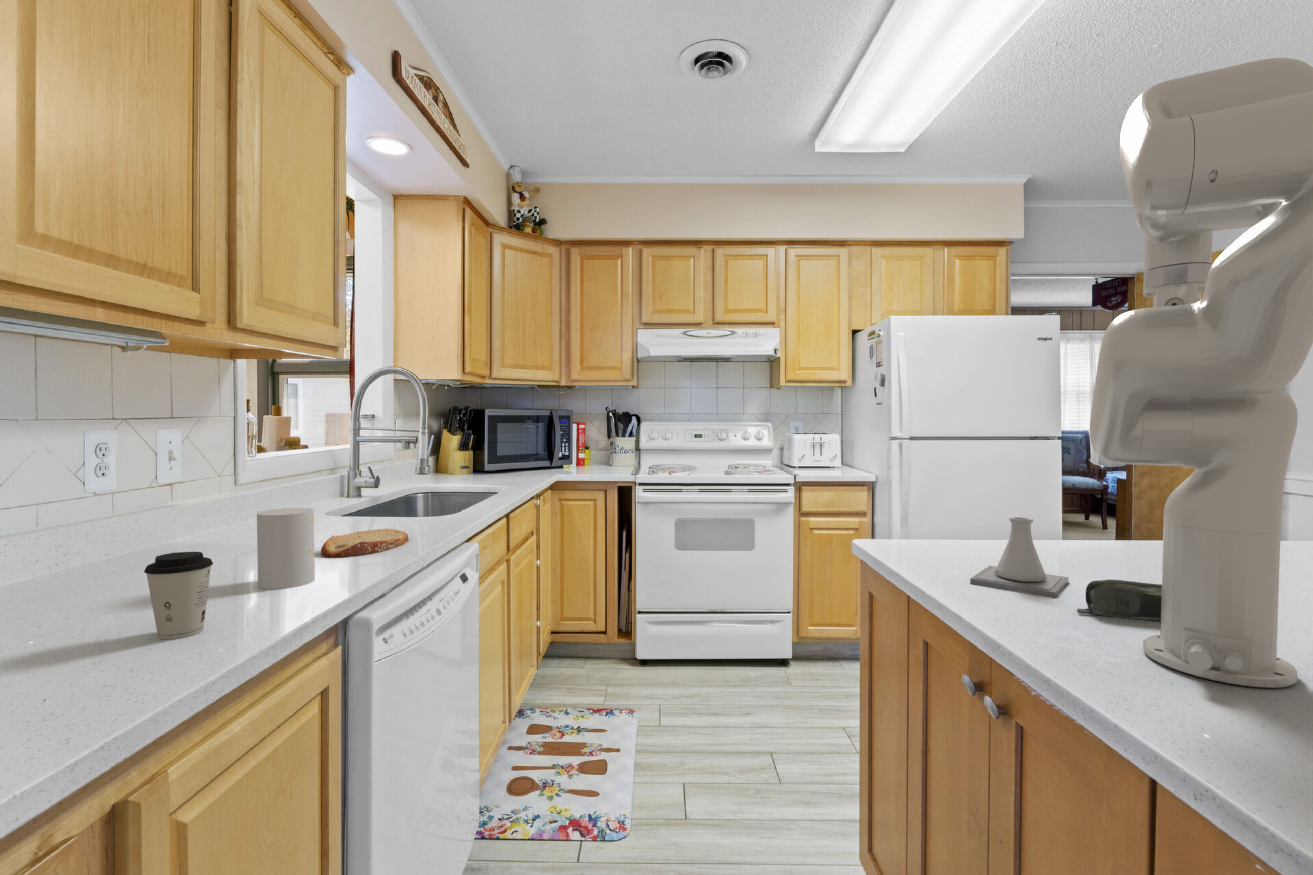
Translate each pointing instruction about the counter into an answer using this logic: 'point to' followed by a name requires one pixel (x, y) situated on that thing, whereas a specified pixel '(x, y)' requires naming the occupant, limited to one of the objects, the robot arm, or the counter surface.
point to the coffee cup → (179, 593)
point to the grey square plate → (1021, 583)
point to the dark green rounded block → (1124, 599)
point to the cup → (285, 548)
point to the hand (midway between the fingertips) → (1173, 399)
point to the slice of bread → (363, 543)
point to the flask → (1020, 554)
